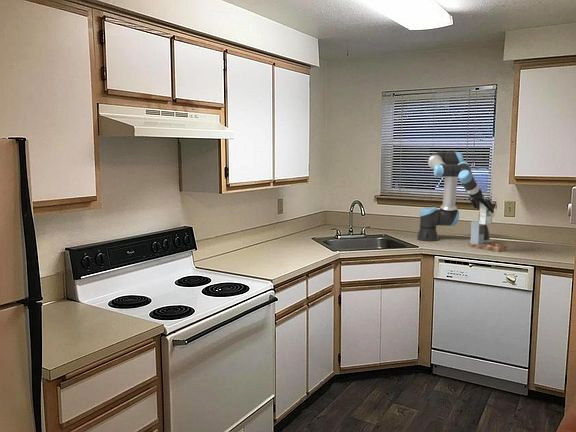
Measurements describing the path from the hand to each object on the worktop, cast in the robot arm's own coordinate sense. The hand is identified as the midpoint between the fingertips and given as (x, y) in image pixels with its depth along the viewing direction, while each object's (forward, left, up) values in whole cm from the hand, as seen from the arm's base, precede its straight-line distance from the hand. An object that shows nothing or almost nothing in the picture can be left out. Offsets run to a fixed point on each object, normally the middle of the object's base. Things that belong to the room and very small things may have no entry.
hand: (489, 215), depth 326 cm
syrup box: (0, -4, -6) cm, 7 cm away
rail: (-7, +10, -24) cm, 27 cm away
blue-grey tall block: (-14, +10, -22) cm, 28 cm away
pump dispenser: (-20, +22, -24) cm, 38 cm away
